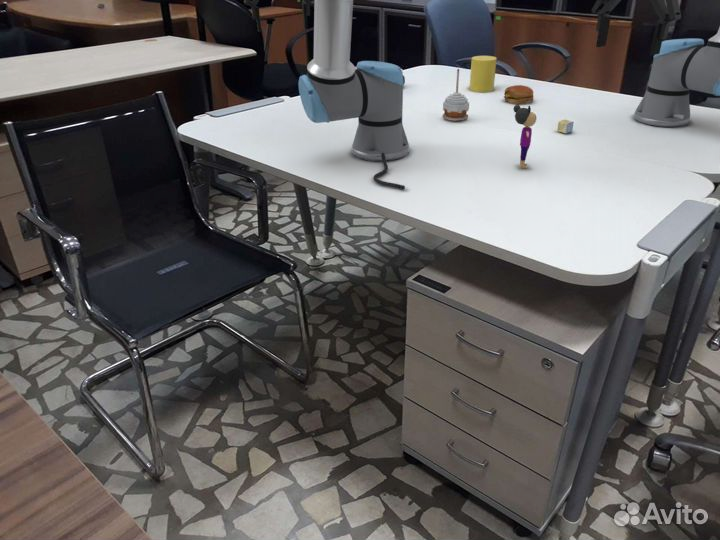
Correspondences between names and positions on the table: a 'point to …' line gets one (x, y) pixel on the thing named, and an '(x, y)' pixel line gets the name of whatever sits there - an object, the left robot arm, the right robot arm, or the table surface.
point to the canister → (482, 73)
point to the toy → (524, 130)
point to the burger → (518, 94)
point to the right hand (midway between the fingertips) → (626, 50)
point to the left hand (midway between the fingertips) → (282, 29)
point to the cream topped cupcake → (456, 105)
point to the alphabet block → (565, 126)
